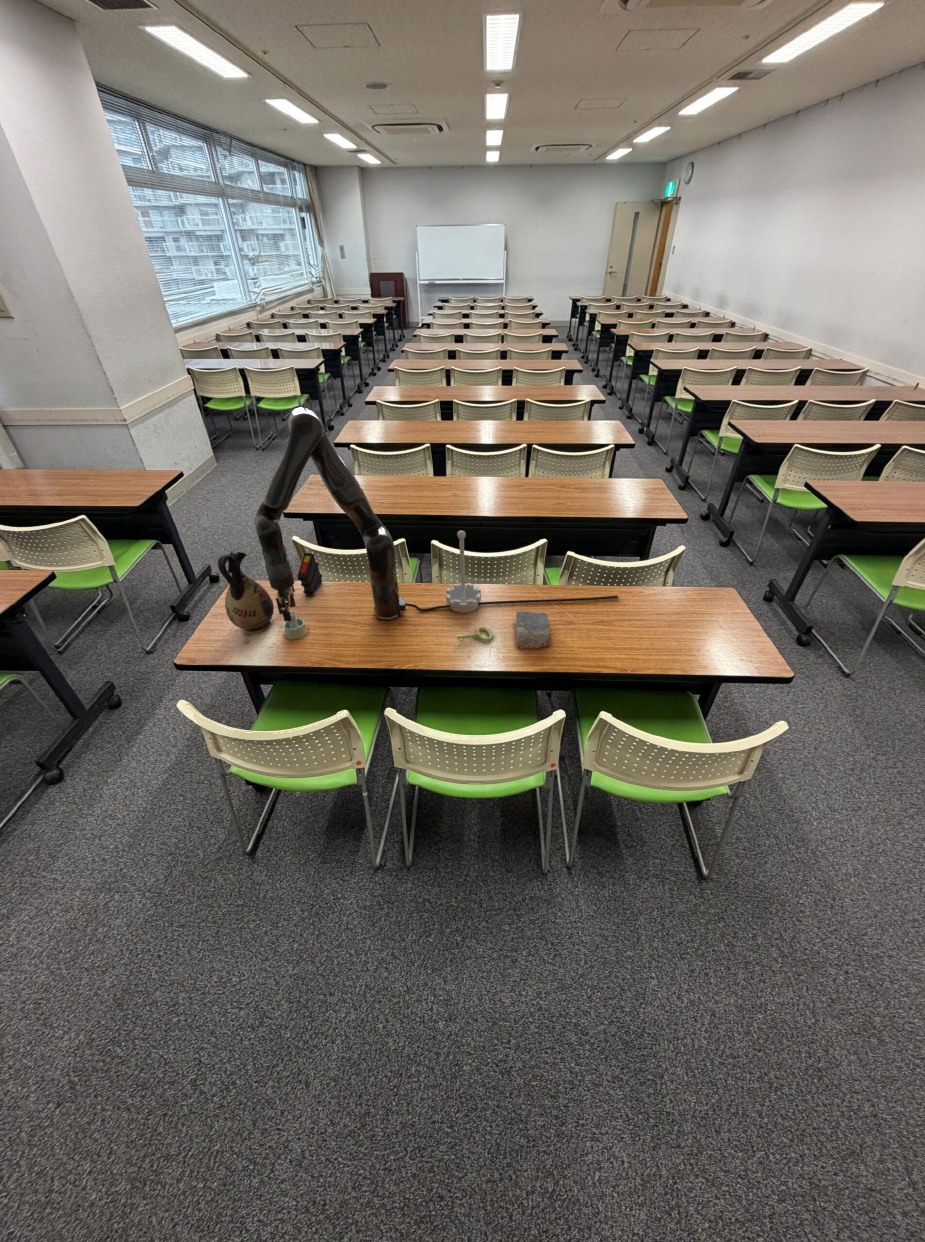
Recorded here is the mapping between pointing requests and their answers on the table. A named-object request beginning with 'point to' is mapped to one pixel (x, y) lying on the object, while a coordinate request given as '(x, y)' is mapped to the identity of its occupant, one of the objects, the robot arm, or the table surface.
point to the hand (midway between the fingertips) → (290, 613)
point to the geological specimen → (532, 630)
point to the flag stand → (463, 587)
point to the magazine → (309, 574)
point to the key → (477, 635)
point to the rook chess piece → (293, 621)
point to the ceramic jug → (245, 597)
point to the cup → (295, 632)
